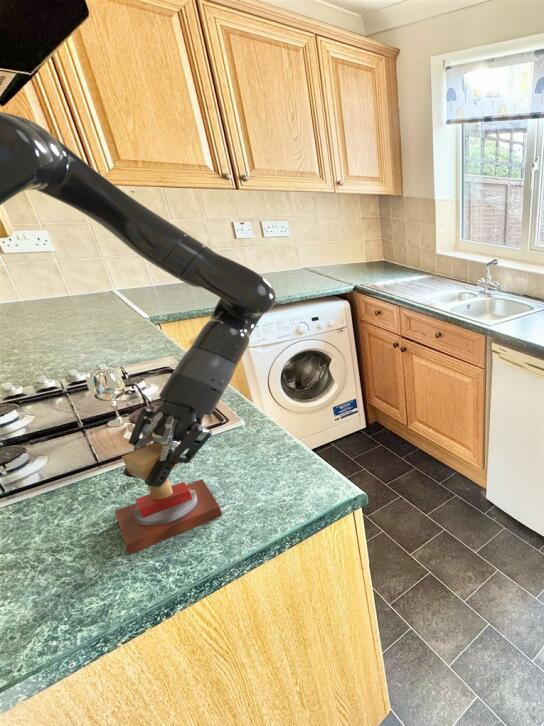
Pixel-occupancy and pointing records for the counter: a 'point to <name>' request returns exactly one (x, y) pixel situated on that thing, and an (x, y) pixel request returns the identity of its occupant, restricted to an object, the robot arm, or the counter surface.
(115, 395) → the wineglass
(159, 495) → the stamp
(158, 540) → the stamp stand
